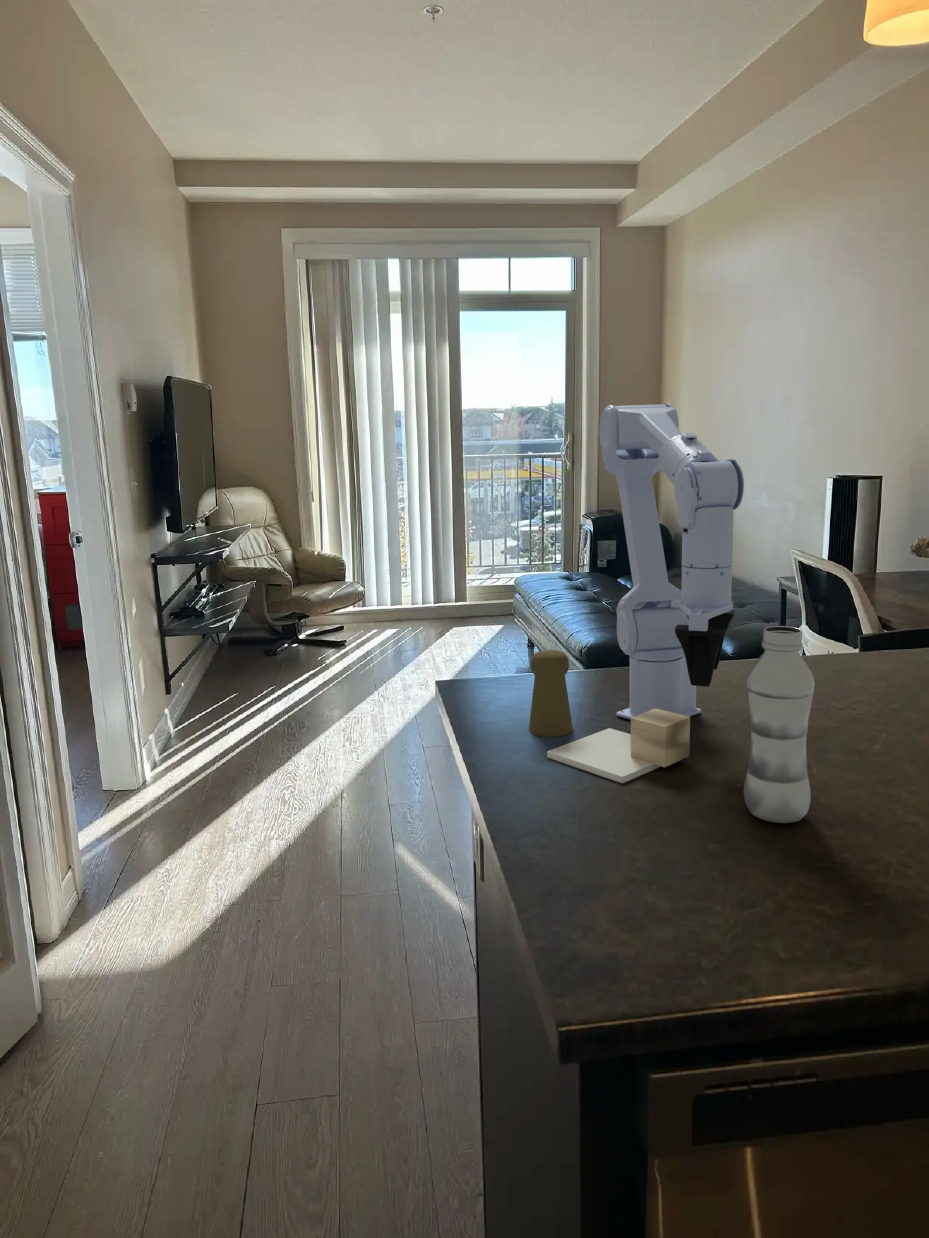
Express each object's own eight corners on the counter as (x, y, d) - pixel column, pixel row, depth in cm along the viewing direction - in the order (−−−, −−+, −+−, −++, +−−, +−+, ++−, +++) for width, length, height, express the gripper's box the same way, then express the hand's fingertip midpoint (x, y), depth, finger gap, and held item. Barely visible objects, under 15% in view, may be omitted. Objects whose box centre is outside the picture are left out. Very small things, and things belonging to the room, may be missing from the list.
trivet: (609, 733, 119) (609, 728, 119) (684, 756, 110) (684, 749, 110) (547, 757, 112) (547, 751, 111) (622, 783, 103) (622, 776, 103)
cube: (655, 746, 112) (655, 708, 111) (689, 756, 108) (690, 716, 107) (630, 757, 109) (630, 717, 107) (664, 767, 105) (665, 727, 104)
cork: (570, 737, 118) (570, 657, 116) (525, 736, 120) (524, 656, 117) (574, 722, 124) (573, 646, 122) (531, 721, 125) (530, 645, 123)
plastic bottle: (778, 836, 88) (785, 640, 84) (728, 812, 94) (734, 628, 90) (824, 821, 91) (833, 631, 87) (773, 798, 97) (780, 619, 93)
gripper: (681, 555, 113) (679, 659, 115) (661, 574, 99) (660, 690, 102) (739, 556, 110) (736, 662, 113) (727, 575, 97) (724, 695, 100)
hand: (704, 676), depth 107 cm, fingers open, 7 cm apart
